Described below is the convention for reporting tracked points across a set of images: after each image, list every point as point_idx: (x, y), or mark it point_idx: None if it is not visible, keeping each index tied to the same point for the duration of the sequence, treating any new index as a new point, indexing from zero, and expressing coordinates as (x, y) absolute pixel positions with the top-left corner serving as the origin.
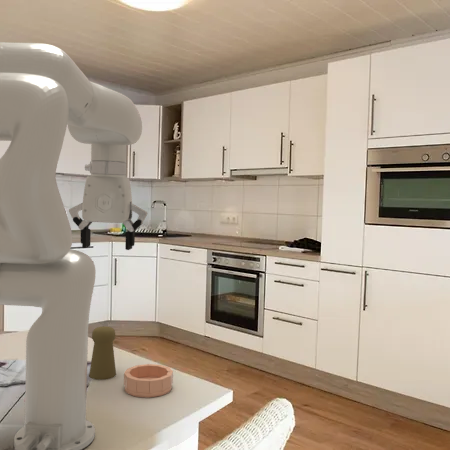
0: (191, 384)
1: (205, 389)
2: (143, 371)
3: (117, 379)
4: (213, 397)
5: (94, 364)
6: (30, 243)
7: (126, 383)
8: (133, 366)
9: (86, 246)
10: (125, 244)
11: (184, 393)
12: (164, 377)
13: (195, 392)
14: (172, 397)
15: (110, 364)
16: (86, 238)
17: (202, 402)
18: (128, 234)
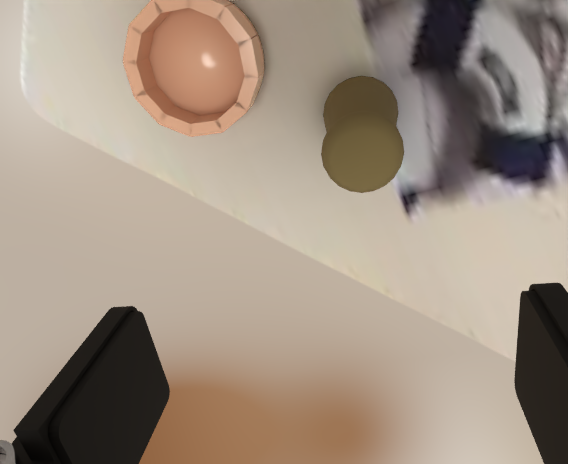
0: (120, 121)
1: (76, 100)
2: (229, 108)
3: (307, 96)
4: (36, 56)
5: (374, 92)
6: None
7: (236, 11)
8: (250, 99)
9: (522, 312)
10: (120, 334)
11: (107, 58)
12: (130, 41)
13: (87, 73)
14: (120, 21)
15: (329, 110)
16: (553, 369)
17: (42, 15)
18: (35, 407)
